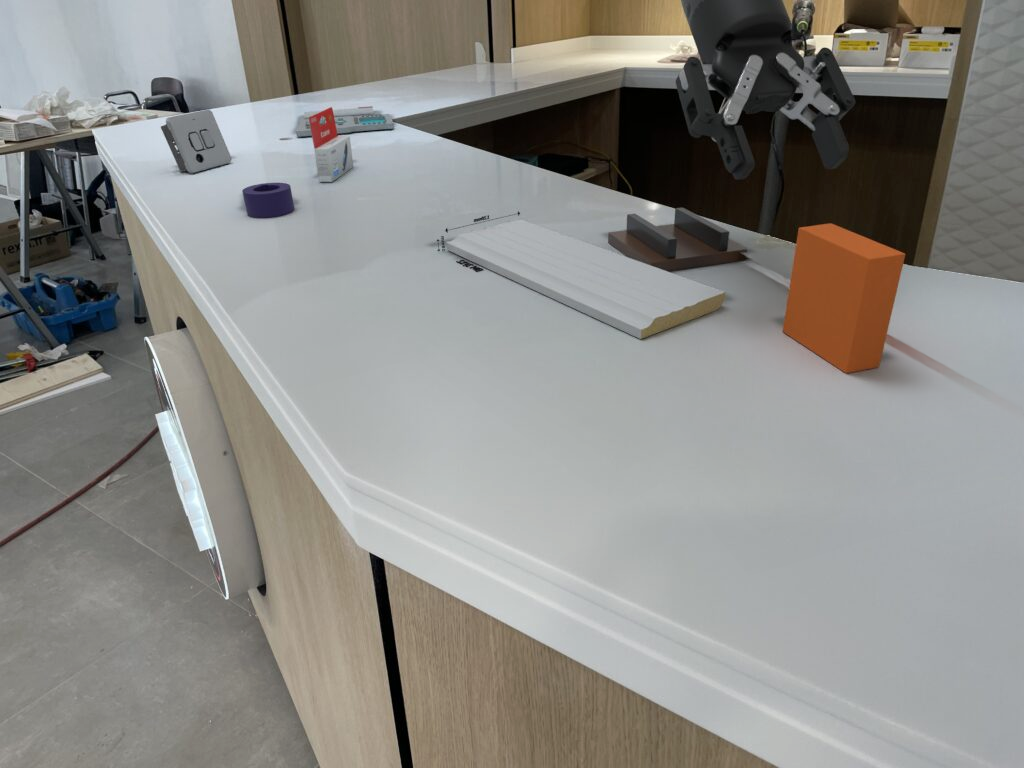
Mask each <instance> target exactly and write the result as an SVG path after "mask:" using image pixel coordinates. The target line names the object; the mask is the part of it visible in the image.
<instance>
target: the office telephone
mask: <svg viewBox="0 0 1024 768" xmlns="http://www.w3.org/2000/svg"><path fill="white" fill-rule="evenodd" d="M321 111H322V110H313V111H311V110H310V111H304V112H303V115H301V116H300V118H299V121H298V125H297V127H296V130H295V135H296V137H310V136H311V137H312V134H311V129H310V124H309V119H308V117H310V116H313V115H315V114H317V113H319V112H321ZM333 114H334V119H335V124H336V130H337V135H338V134H349V133H354V132H364V131H366V132H367V131H377V130H378V131H379V130H392V129H394V122H393V119H392V116H391V115H390V114H389V113H385V114H384V113H383V114H382V113H379V110H374V106H372V105H371V106H359V107H355V108H342V109H333ZM325 123H326V120H325V118H323V117H321V119H320V122H319V124H320V126H321V125H323V124H325Z"/></svg>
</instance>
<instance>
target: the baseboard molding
mask: <svg viewBox="0 0 1024 768" xmlns="http://www.w3.org/2000/svg"><path fill="white" fill-rule="evenodd" d="M520 214H521V212H520V211H517V213H514V214H509V215H505V216H500V217H497V218H494V219H490V215H489V214H487V215H484V216H481V217H478V218H474V219H473V223H471V224H467V225H462V226H459V227H453V228H451V229H448V228H445V230H444V231H445V232H446V234H448V233H449V231H452V230H456V229H460V228H464V227H468V226H473V225H478V224H481V223H485V222H486V223H487V222H490V221H493V220H497V219H503V218H507V217H510V216H516V215H517V217H519V216H520ZM440 239H441V248H440V246H439V245H440V244H439V242H440ZM440 239H437V240H436V242H437V247H438V249H437V252H440V251H442V252H445V251H446V250H447V251H449V252H451V253H453V254H455V255H457V256H460V257H462V258H464V259H460V260H459V261H458V260H455V262H456V263H458V264H460V265H462V267H464V266H465V267H466V268H469V269H472V270H473V271H475V273H477V272H482V271H484V268H485V269H488V270H490V271H492V272H494V273H496V274H499V275H501V276H503V277H505V278H508V279H509V280H512V281H514V282H516V283H517V284H519V285H522V286H524V287H527V288H529V289H531V290H533V291H535V292H538V293H540V294H542V295H544V296H546V297H548V298H551V299H553V300H555V301H557V302H559V303H561V304H564V305H566V306H567V307H570V308H572V309H574V310H577V311H578V312H580V313H583V314H585V315H587V316H590V317H592V318H594V319H596V320H598V321H601V322H603V323H605V324H606V325H608V326H610V327H614V328H616V329H618V330H620V331H621V332H624V333H626V334H629V335H631V336H633V337H635V338H637V339H639V340H643V339H644V338H647V337H650V336H653V335H656V334H658V333H661V332H663V331H665V330H668V329H671V328H674V327H676V326H678V325H681V324H684V323H686V322H689V321H692V320H694V319H697V318H699V317H702V316H705V315H707V314H710V313H713V312H715V311H717V310H719V309H720V308H721V307H722V305H723V304H724V301H725V298H726V291H724V290H721V289H718V288H716V287H712V286H709V285H706V284H704V283H702V282H698V281H695V280H692V279H690V278H688V277H684V276H681V275H679V274H676V273H673V272H671V271H665V270H662V269H659V268H656V267H653V266H651V265H648V264H645V263H642V262H639V261H636V260H634V259H631V258H629V257H627V256H626V255H622V254H620V253H616V252H614V251H611V250H609V249H607V248H606V249H605V248H602V247H600V246H597V245H594V244H591V243H588V242H586V241H583V240H580V239H577V238H575V237H571V236H569V235H566V234H563V233H561V232H557V231H555V230H553V229H550V228H546V227H543V226H541V225H538V224H535V223H532V222H530V221H527V220H524V219H521V218H519V219H515V220H511V221H507V222H503V223H499V224H495V225H494V226H493V225H492V226H490V227H483V228H481V229H477V230H473V229H472V230H471V231H469V232H465V233H464V232H462V233H457V234H456V235H455V237H454V238H453V239H452V240H449V241H446V242H445V239H444V235H441V236H440ZM445 244H446V245H445ZM465 259H466V260H465ZM467 260H468V261H467ZM471 262H473V263H471ZM474 264H477V265H479V266H477V265H474ZM480 266H481V267H480ZM482 267H483V268H482Z"/></svg>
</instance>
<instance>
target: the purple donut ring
mask: <svg viewBox="0 0 1024 768" xmlns="http://www.w3.org/2000/svg"><path fill="white" fill-rule="evenodd" d="M291 187H292V186H291V185H290V184H289V183H286V182H265V183H264V182H263V183H257V184H253V185H250V186H249V185H248V186H246V187H244V188H243V189H242V190H241V192H242V195H243V201H244V206H245V210H246V214H247V216H248V217H250V218H255V219H268V218H276V217H281V216H285V215H288V214H291V213H292V212H294V211H295V203H294V198H293V193H292V188H291Z"/></svg>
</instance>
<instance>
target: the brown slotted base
mask: <svg viewBox="0 0 1024 768" xmlns="http://www.w3.org/2000/svg"><path fill="white" fill-rule="evenodd" d="M607 243H608V244H609V245H611V246H612V247H613V248H614V249H616V250H618V251H619V252H620V253H622V254H623V256H625V257H628V258H631V259H634V260H636V261H639V262H642V263H645V264H648V265H651V266H653V267H656V268H659V269H662V270H665V271H667V272H673V271H681V270H686V269H687V270H688V269H693V268H700V267H707V266H714V265H721V264H727V263H733V262H741V261H746V259H747V255H746V254H744V253H747V251H748V249H747V248H745V247H744V246H742V245H740V244H738V243H737V242H734V241H733V240H731V239H730V231H729V230H727V229H726V228H723V227H721V226H720V225H717V224H715V223H713V222H712V221H710V220H708V219H706V218H704V217H702V216H700V215H699V214H696V213H694V212H692V211H691V210H688V209H686V208H684V207H676V208H675V209H674V222H673V223H671V224H664V225H663V224H662V225H656V224H654V223H652V222H650V221H649V220H647V219H645V218H644V217H642V216H640V215H638V214H637V213H634V212H633V213H627V214H626V228H625V230H618V231H617V230H616V231H610V232H608V233H607Z"/></svg>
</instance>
